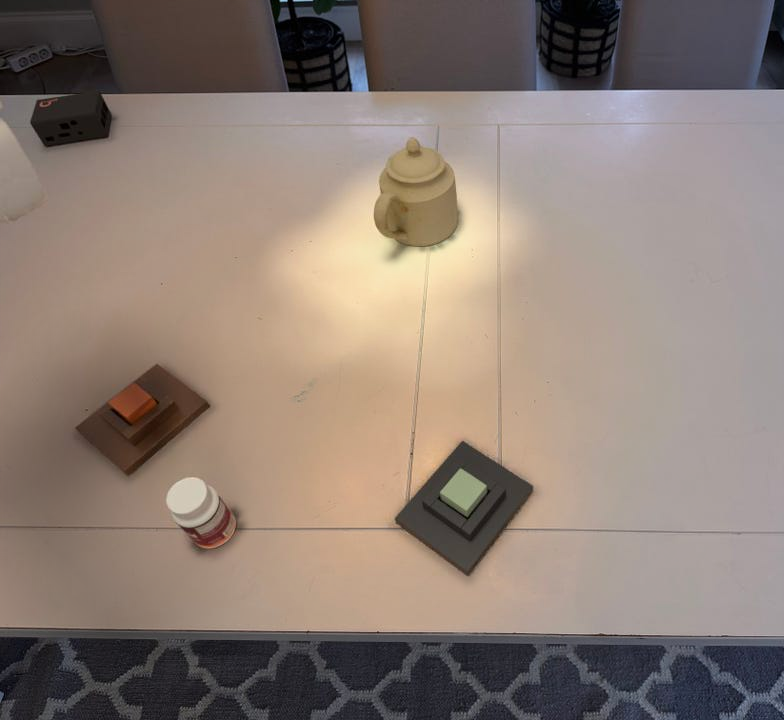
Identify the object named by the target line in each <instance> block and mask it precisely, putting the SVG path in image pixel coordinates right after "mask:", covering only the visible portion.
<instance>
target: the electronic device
mask: <svg viewBox="0 0 784 720" xmlns="http://www.w3.org/2000/svg"><path fill="white" fill-rule="evenodd" d="M111 119H112V113H111V110H110V108H109V106H108V105H107V102H106V101H105V98H104V97H103V95H102V93H101V91H100V90H95V91H88V92H82V93H75V94H68V95H62V96H61V95H60V96H55V97H54V96H53V97H47V98H41V99H37V100H36V101H35V104H34V107H33V111H32V114H31V117H30V121H29V123H30V125H31V127H32V129H33V130H34V132H35V134H36V135H37V136H38V138H39V140H40V141H41V143H42V144H43V146H44V147H49V146H55V145H62V144H67V143H68V144H69V143H74V142H82V141H88V140H94V139H101V138H105V137H106V138H107V137H108V136H109V132H110V131H109V130H110V124H111Z"/></svg>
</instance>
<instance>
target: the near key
mask: <svg viewBox="0 0 784 720" xmlns="http://www.w3.org/2000/svg"><path fill="white" fill-rule="evenodd" d="M486 494H487V485H485V484H484V483H482V482H481V481H479V480H478V479H476V478H475V477H473V476H472V475H470V474H469V473H467V472H466V471H464V470H463V469H461V468H460V469H459V470H458V472H457V473H456V474H455V475H454V476H453V477H452V479H451V480H450V481H449V482H448V483H447V484H446V486H445V487H444V488H443V489H442V490H441V492H440V496H441V500H443V501H444V502H445V503H447V504H448V505H450V506H451V507H453V508H454V509H456V510H457V511H458V512H460V513H461V514H463V515H464V516H466V517H468V516H469V515H470V514H471V512H472V511H473V510H474V509H475V507H476V506H477V505H478V504H479V502H480V501H481V500H482V499H483V498H484V496H485V495H486Z"/></svg>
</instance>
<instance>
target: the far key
mask: <svg viewBox="0 0 784 720" xmlns="http://www.w3.org/2000/svg"><path fill="white" fill-rule="evenodd" d="M131 383H132V382H131ZM131 383H130V384H131ZM130 384H129V385H130ZM129 385H127V386H128V387H127V386H126V387H127V388H126V387H125V388H126V389H125V388H124V389H125V390H124V389H122V390H123V391H122V390H121V391H122V392H121V391H120V392H121V393H120V392H118V393H119V394H118V393H117V394H118V395H117V394H116V395H117V396H116V395H115V396H116V397H115V396H113V397H114V398H113V397H112V398H113V399H112V398H111V399H112V400H111V399H110V400H111V401H110V400H108V401H109V402H108V401H107V402H108V403H109V404H110V405H111V407H112V408H113V409H114V410H115V411H116V412H117V413H118V414H120V415H121V416H122V417H123V418H124V419H126V420H127V421H128V422H129V423H130V424H132V425H133V424H135V423H136V422H137V421H138V420H139V419H141V418H142V417H143V416H144V415H145V414H147V413H148V412H149V411H150V410H152V409H153V408H154V407H155V406H156V405H157V403H156V402H155V400H154V399H153V398H152V396H150V395H149V394H148V393H147V392H145V391H144V390H143V389H141V388H140V387H139V386H138V385H136V384H135V383H132V384H131V385H130V386H129Z"/></svg>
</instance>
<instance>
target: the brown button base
mask: <svg viewBox="0 0 784 720" xmlns="http://www.w3.org/2000/svg"><path fill="white" fill-rule="evenodd" d="M132 383H135V384H136V385H138V386H139V387H140V388H141V389H143V390H144V391H145V392H147V393H148V394H149V395H150V396H152V398H153V399H154V400H155V402H156V403H157V405H156V406H155V407H154V408H153V409H152V410H150V411H149V412H148V413H147V414H145V415H144V416H143V417H142V418H141V419H139V420H138V421H137V422H136V423H135V424H133V425H132V424H130V423H129V422H128V421H127V420H126V419H124V418H123V417H122V416H121V415H120V414H118V413H117V412H116V411H115V410H114V409H113V408H112V407H111V405H110V404H109V403H108V402H109V401H111V400H112V399H113V398H114V397H116V396H117V395H118V394H119V393H121V392H122V391H123V390H125V389H126V388H127V387H128V386H130V385H131V384H132ZM209 407H211V405H210V403H209V402H208V401H207V399H205V398H204V397H203V396H201V395H200V394H198V393H197V392H196V391H194V390H193V389H192V388H191V387H190V386H188V385H187V384H186V383H184V382H182V381H181V380H180V379H178V378H177V377H176V376H174V375H173V374H172V373H171V372H169V371H168V370H167V369H165V368H164V367H163V366H161V365H160V364H159V363H155V364H154V365H153V366H151V367H150V368H149V369H147V371H145V372H144V373H143V374H141V375H140V376H139V377H137V378H136V379H134V381H132V382H131V383H129V384H128V385H127V386H126V387H124V388H123V389H122V390H121V391H119V392H118V393H117V394H115V396H113V397H112V398H111V399H110V400H108V401H107V402H106V403H104V404H103V405H102V406H100V407H99V408H98V409H97V410H95V411H94V412H93V413H91V415H89V416H88V417H87V418H85V419H84V420H83V421H82V422H80V423H79V424H78V425H76V426H75V427H74V429H75V430H76V431H77V432H78V433H79V434H80V435H81V436H82V437H84V439H85V440H87V441H88V442H89V443H90V444H91V445H92V446H94V447H95V448H96V449H97V450H98V451H99V452H100V453H102V454H103V455H104V456H105V457H106V458H107V459H108V460H110V461H111V462H112V463H113V464H114V465H115V466H117V468H119V470H122V472H123V473H124V474H125V475H127V476H128V477H130V476H131V475H132V474H133V473H134V472H135V471H137V469H138V468H139V469H140V467H141V466H142V465H144V464H145V463H146V462H147V461H148V460H149V459H151V458H152V457H153V456H154V455H155V454H156V453H157V452H159V451H160V450H161V449H162V448H163V447H164V446H166V445H167V444H168V443H170V441H171V440H172V439H174V438H175V437H176V436H177V435H178V434H179V433H181V432H182V431H183V430H184V429H186V428H187V426H189V425H190V424H191V423H192V422H194V421H195V420H196V419H197V418H198V417H199V416H201V415H202V414H203V413H204V412H205V411H206V410H208V408H209Z"/></svg>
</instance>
